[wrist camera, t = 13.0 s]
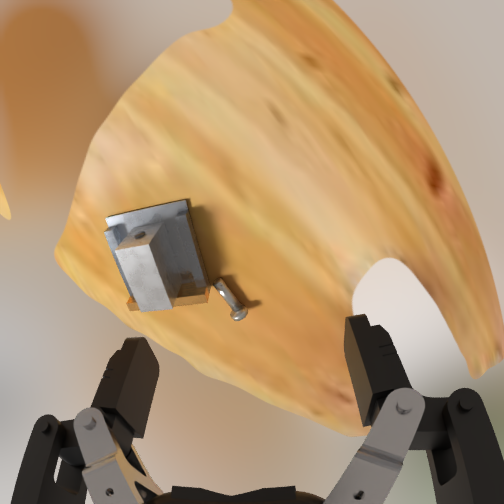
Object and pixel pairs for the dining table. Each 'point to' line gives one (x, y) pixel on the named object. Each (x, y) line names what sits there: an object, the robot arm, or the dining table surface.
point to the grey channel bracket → (181, 242)
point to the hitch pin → (231, 300)
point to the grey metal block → (150, 267)
